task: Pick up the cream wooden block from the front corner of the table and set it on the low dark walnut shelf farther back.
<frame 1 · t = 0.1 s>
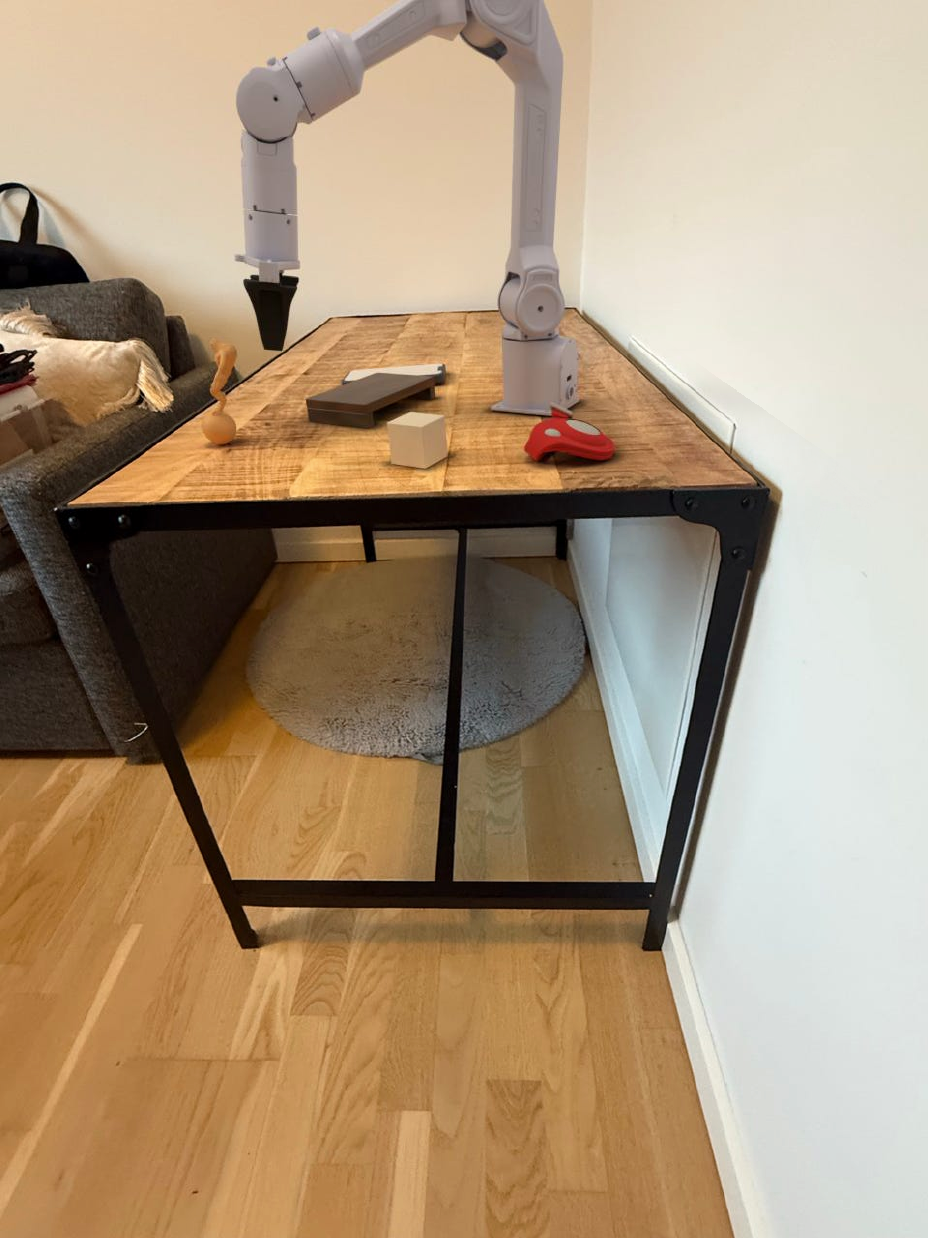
hand: (274, 344, 80), 11 cm above the table, tool pointing down, fingers open, 7 cm apart
block: (419, 460, 73), on the table
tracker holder: (570, 451, 74), on the table
shelf: (374, 409, 93), on the table
figurine: (231, 444, 83), on the table
phone case: (395, 382, 107), on the table
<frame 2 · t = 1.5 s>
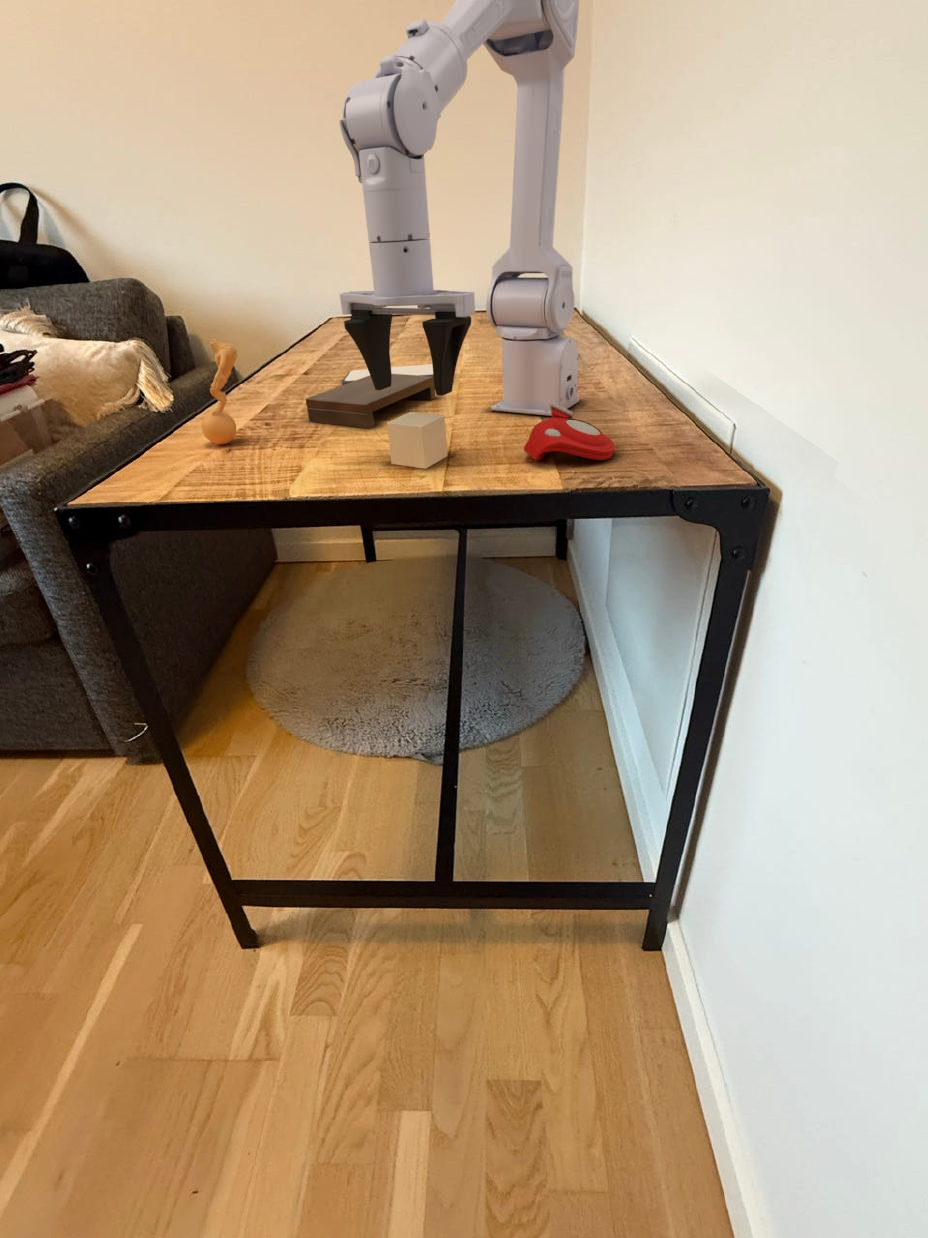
hand: (413, 390, 69), 7 cm above the table, tool pointing down, fingers open, 7 cm apart
nothing on the table moved.
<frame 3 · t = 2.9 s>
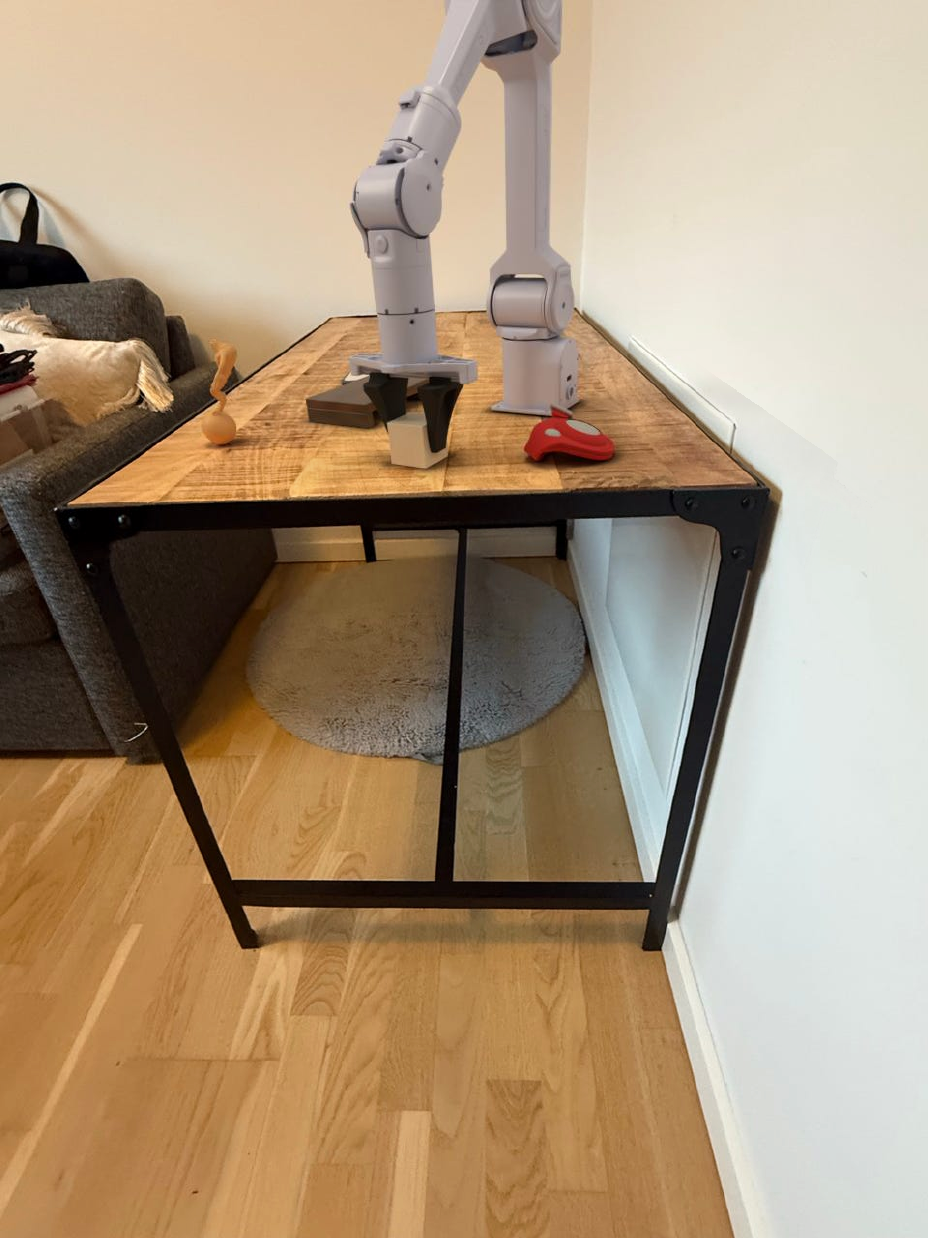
hand: (418, 447, 73), 1 cm above the table, tool pointing down, fingers closed on block, 4 cm apart
block: (420, 460, 73), on the table, touching gripper
everything else where it was.
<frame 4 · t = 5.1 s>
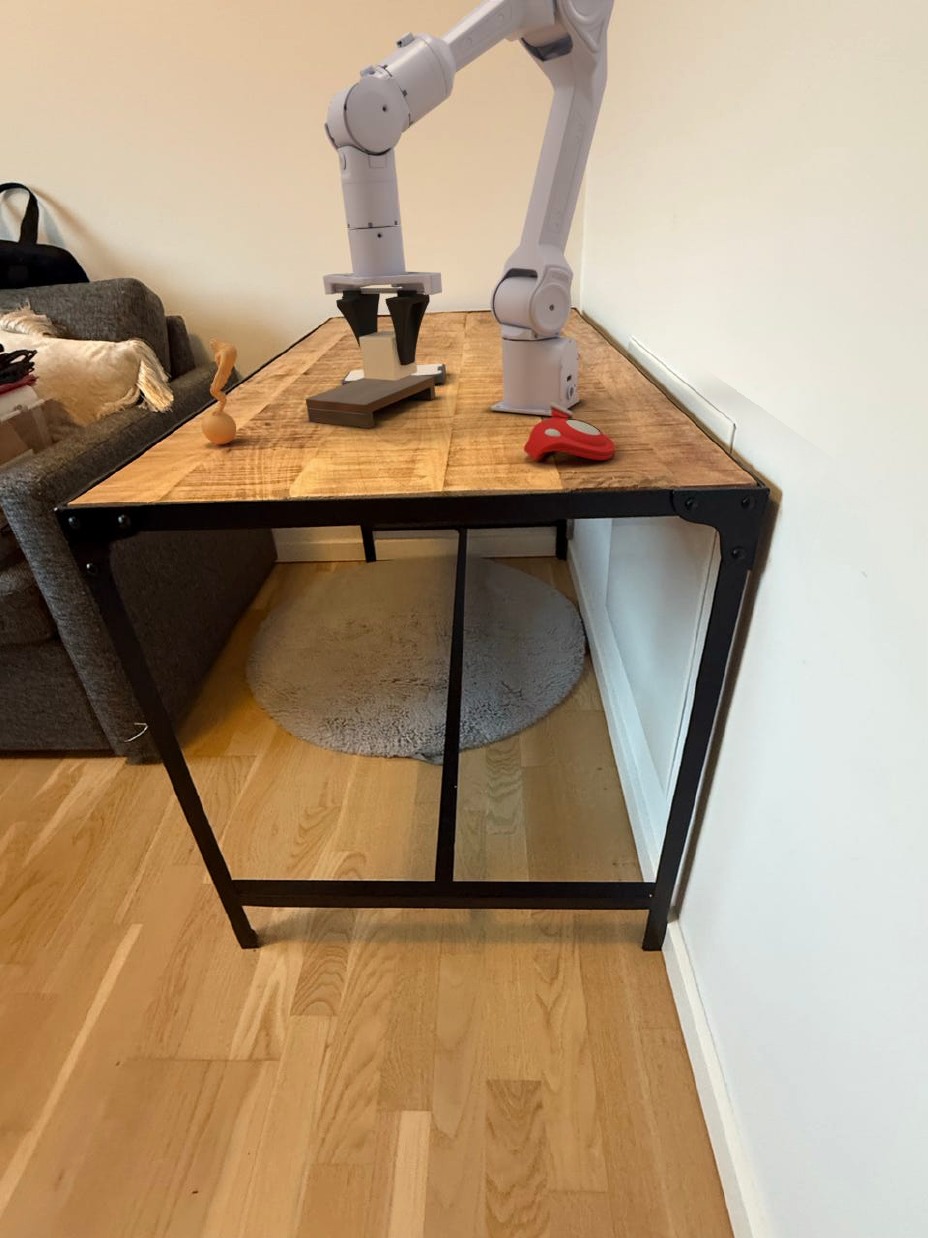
hand: (389, 362, 78), 8 cm above the table, tool pointing down, fingers closed on block, 4 cm apart
block: (390, 375, 79), point 7 cm above the table, touching gripper
everything else where it was.
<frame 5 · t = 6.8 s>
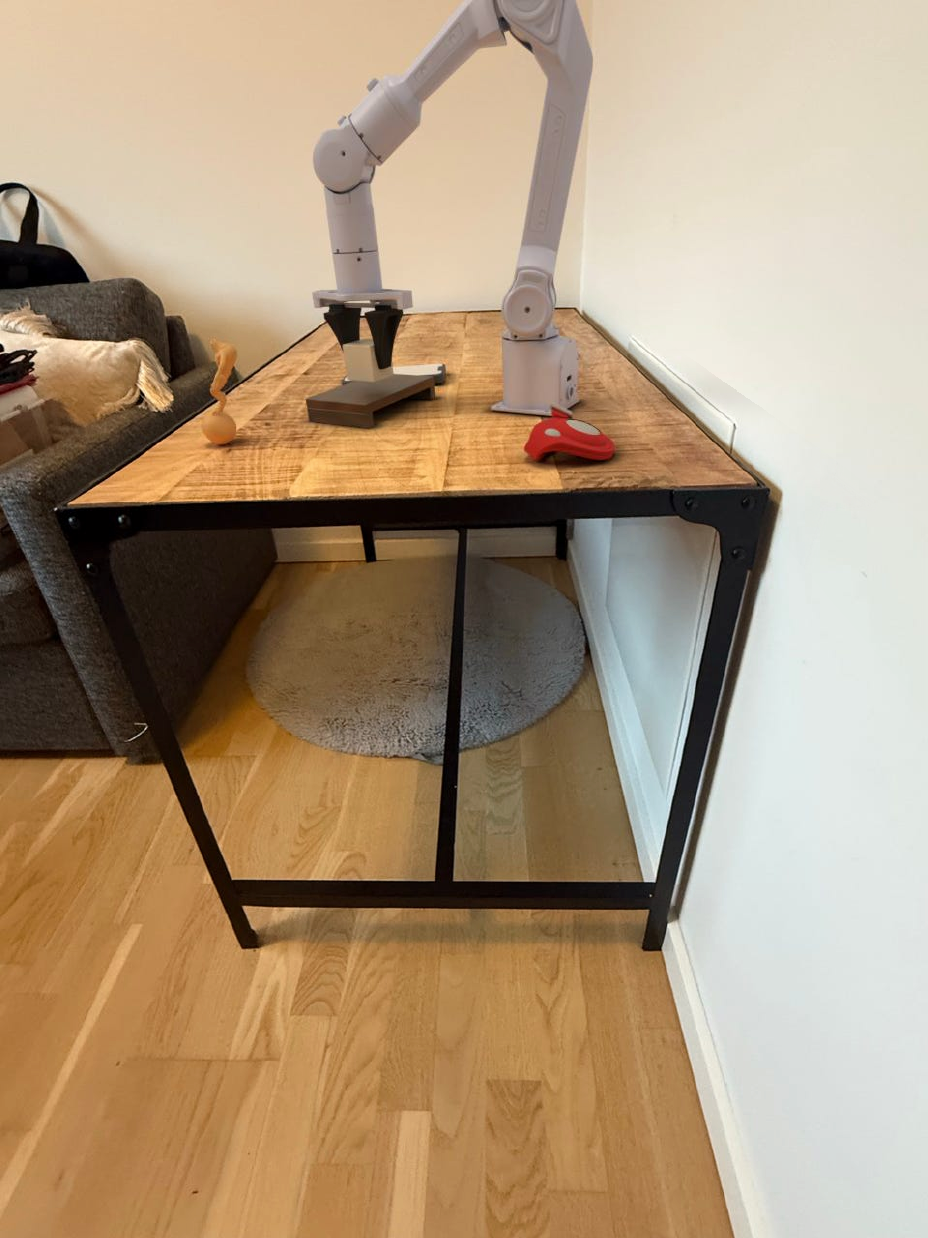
hand: (369, 366, 90), 6 cm above the table, tool pointing down, fingers closed on block, 4 cm apart
block: (370, 377, 91), point 4 cm above the table, touching gripper
everything else where it was.
when the fingers open (4 cm above the table, at t = 7.7 s): block stays where it is, resting on shelf.
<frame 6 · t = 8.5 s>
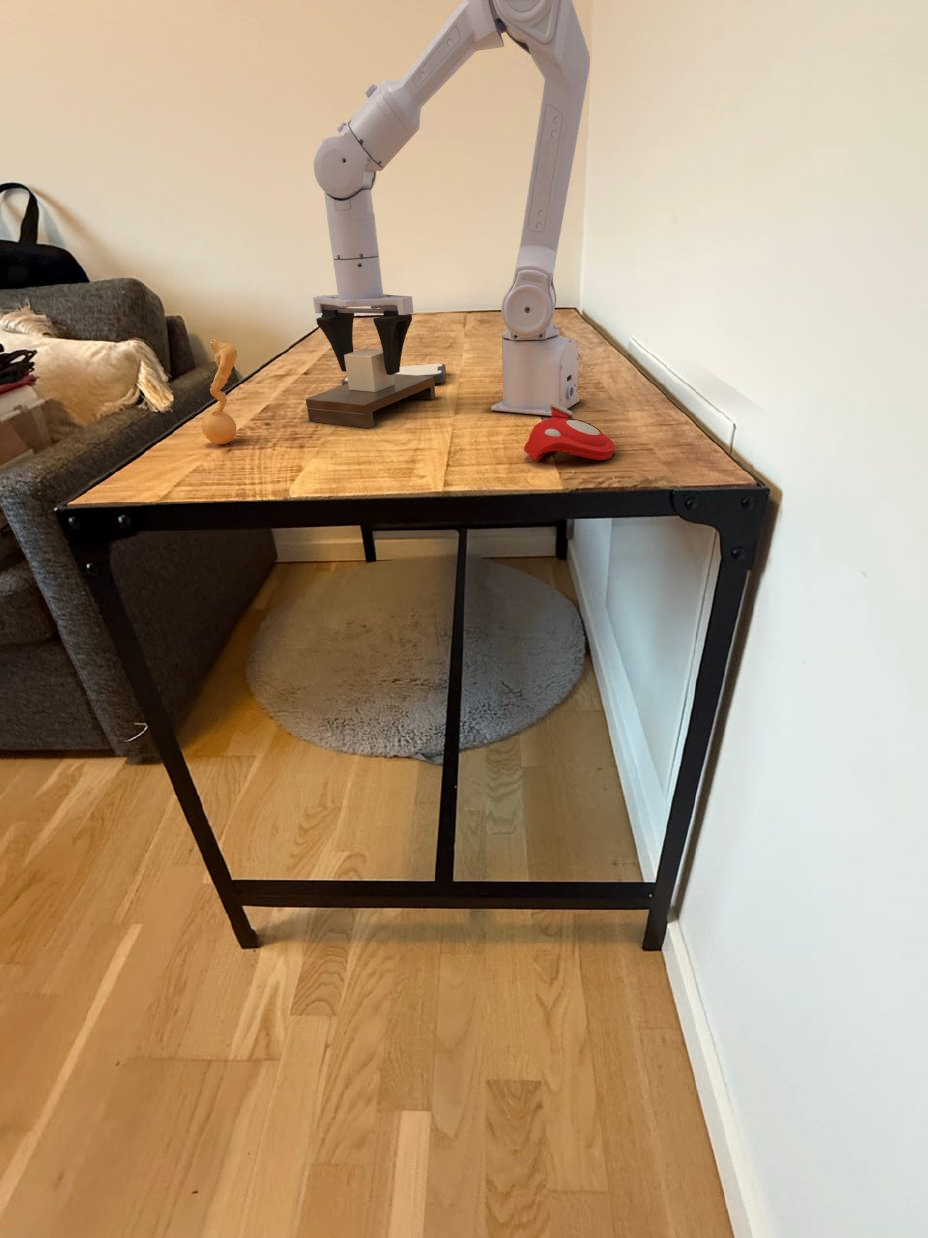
hand: (370, 371, 90), 5 cm above the table, tool pointing down, fingers open, 7 cm apart
block: (371, 387, 91), point 3 cm above the table, touching shelf
everything else where it was.
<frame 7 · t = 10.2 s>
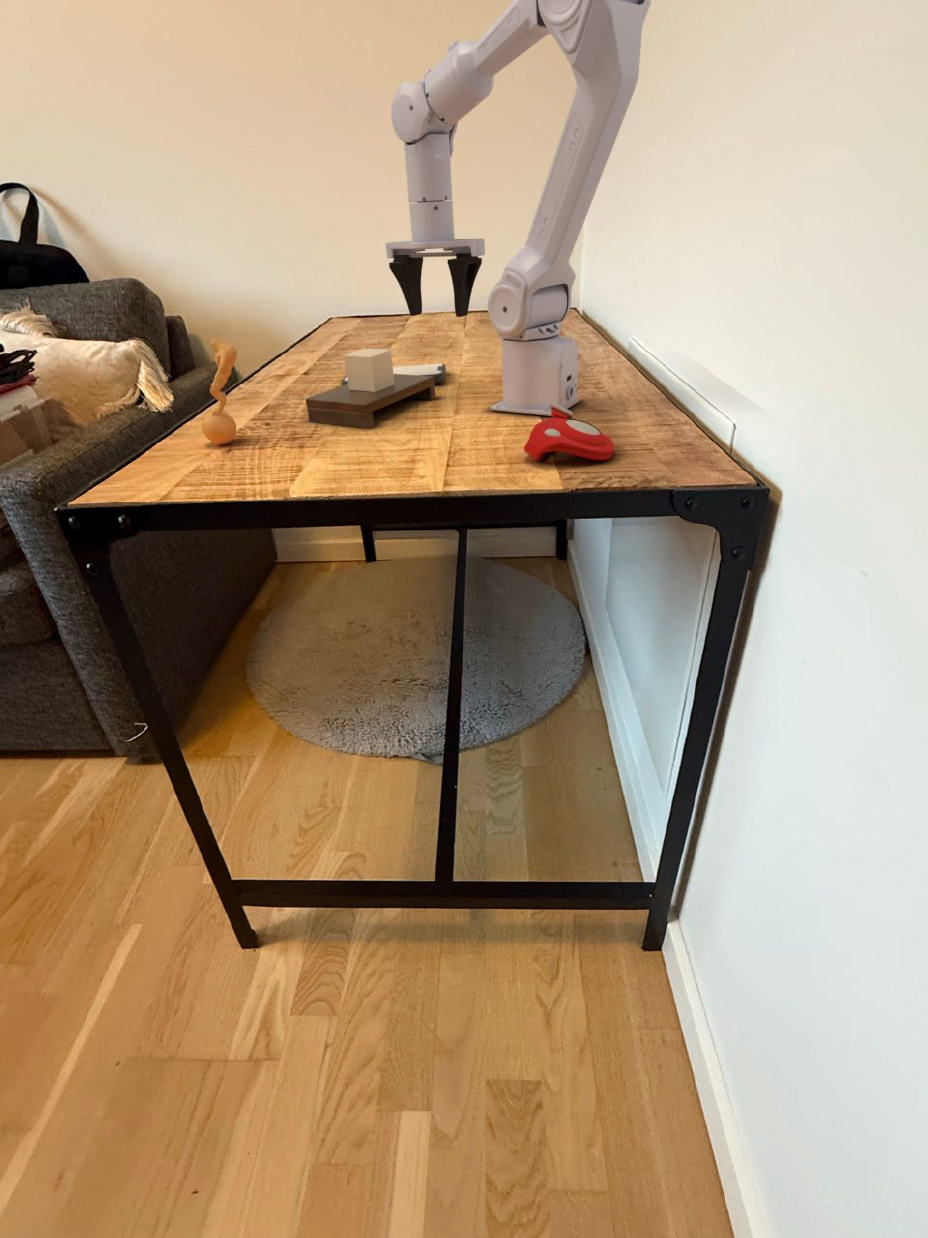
hand: (438, 315, 94), 10 cm above the table, tool pointing down, fingers open, 7 cm apart
nothing on the table moved.
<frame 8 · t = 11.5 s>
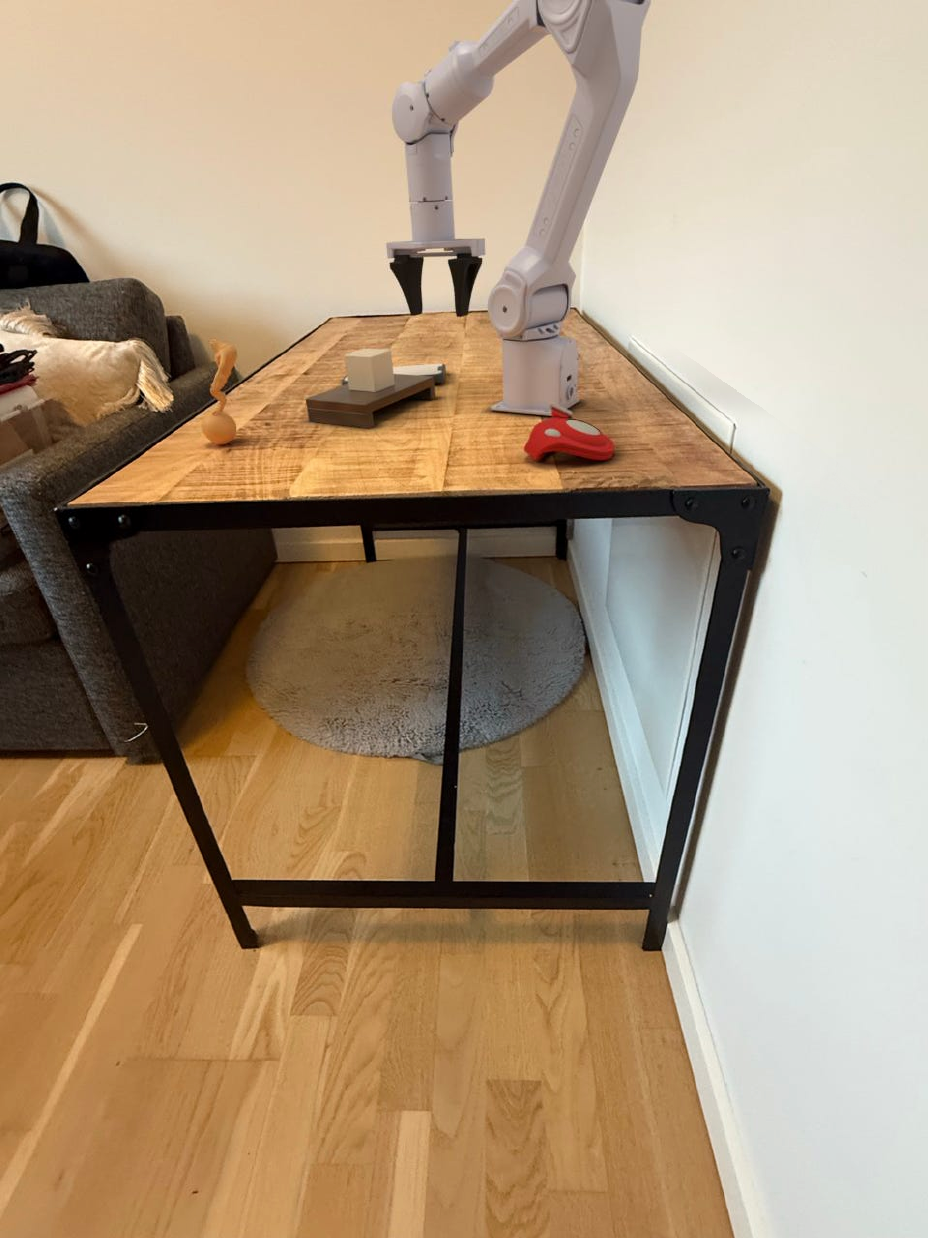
hand: (439, 315, 94), 10 cm above the table, tool pointing down, fingers open, 7 cm apart
nothing on the table moved.
at the end: block inside the target area on the shelf (0.1 cm from its centre), point 3.0 cm above the shelf's base; block tilted 0°; the gripper is holding nothing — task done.
